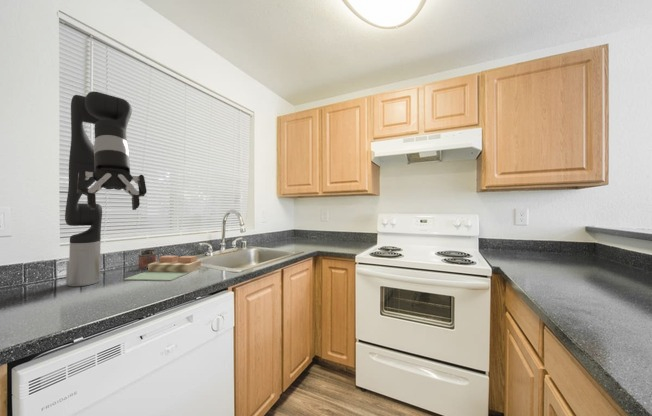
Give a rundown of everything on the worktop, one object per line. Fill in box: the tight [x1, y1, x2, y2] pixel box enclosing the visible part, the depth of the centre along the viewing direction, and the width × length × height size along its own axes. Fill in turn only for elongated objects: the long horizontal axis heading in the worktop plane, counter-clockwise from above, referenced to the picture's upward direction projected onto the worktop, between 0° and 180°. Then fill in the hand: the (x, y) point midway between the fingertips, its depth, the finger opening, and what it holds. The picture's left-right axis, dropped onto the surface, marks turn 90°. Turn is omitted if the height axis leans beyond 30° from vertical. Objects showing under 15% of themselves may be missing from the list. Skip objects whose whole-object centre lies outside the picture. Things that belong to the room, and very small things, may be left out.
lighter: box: [137, 248, 157, 270], centre depth 131 cm, size 8×3×10 cm, turn 147°
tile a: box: [158, 254, 179, 262], centre depth 130 cm, size 7×5×2 cm
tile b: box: [178, 255, 198, 263], centre depth 129 cm, size 7×5×2 cm
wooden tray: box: [147, 259, 202, 274], centre depth 127 cm, size 20×12×4 cm, turn 89°
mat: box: [123, 271, 189, 282], centre depth 114 cm, size 21×13×1 cm, turn 89°
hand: (115, 208), depth 66 cm, fingers open, 8 cm apart
